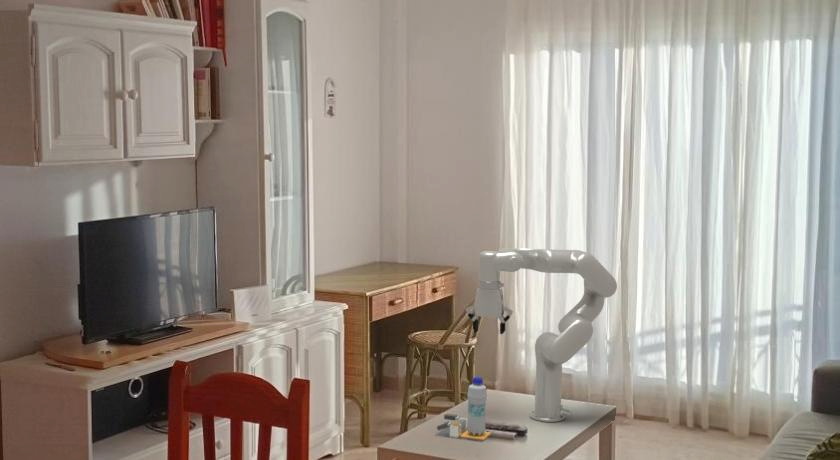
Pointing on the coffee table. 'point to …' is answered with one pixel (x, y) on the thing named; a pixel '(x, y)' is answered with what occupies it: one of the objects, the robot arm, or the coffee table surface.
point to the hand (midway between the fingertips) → (489, 332)
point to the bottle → (476, 407)
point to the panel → (447, 434)
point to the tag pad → (481, 437)
